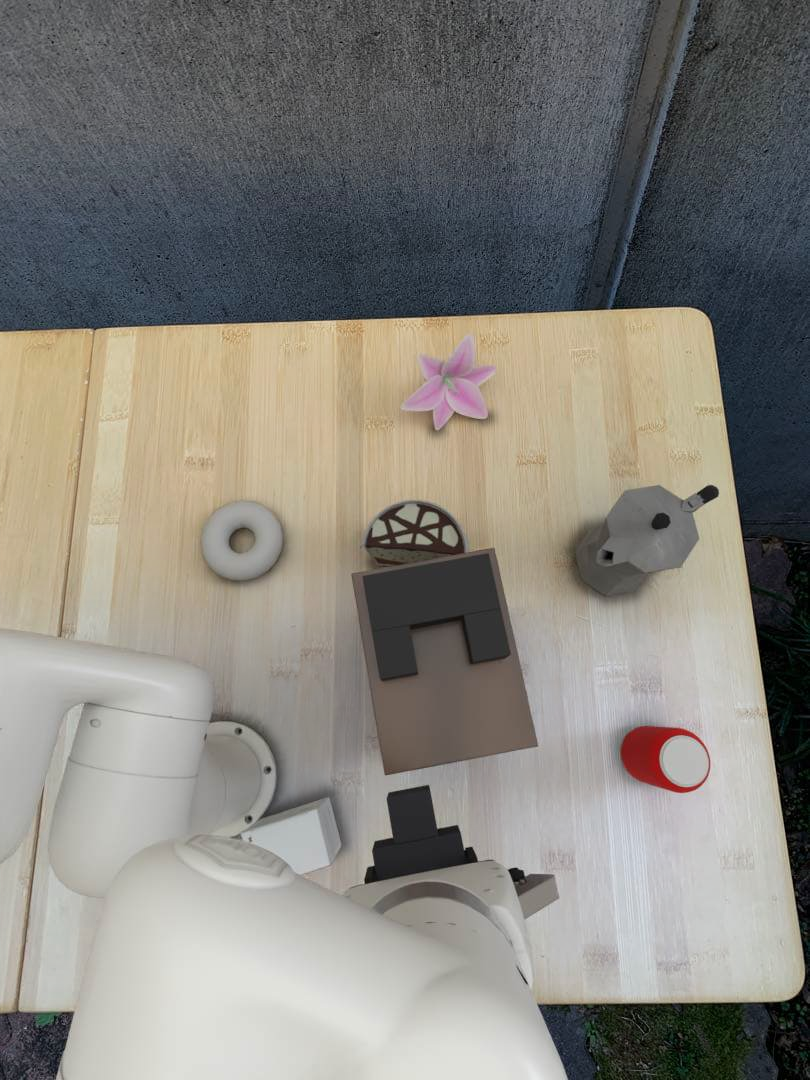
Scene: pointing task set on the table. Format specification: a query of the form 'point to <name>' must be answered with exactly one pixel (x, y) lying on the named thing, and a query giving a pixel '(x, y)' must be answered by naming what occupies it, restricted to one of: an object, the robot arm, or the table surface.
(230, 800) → the robot arm
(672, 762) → the beverage can
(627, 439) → the table surface
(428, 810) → the charcoal pad
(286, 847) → the small box
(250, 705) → the table surface
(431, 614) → the black pad
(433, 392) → the lily
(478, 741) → the walnut stand
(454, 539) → the chocolate cake
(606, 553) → the coffeepot
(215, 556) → the donut
